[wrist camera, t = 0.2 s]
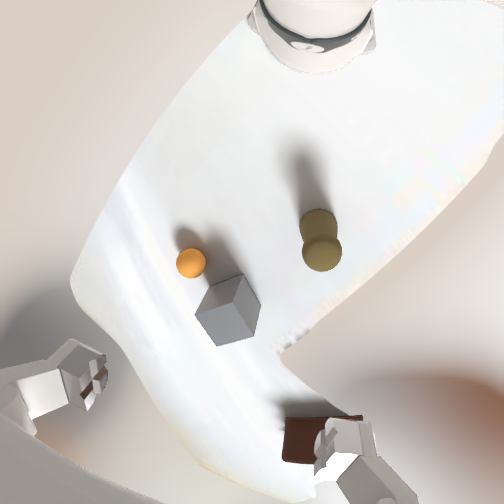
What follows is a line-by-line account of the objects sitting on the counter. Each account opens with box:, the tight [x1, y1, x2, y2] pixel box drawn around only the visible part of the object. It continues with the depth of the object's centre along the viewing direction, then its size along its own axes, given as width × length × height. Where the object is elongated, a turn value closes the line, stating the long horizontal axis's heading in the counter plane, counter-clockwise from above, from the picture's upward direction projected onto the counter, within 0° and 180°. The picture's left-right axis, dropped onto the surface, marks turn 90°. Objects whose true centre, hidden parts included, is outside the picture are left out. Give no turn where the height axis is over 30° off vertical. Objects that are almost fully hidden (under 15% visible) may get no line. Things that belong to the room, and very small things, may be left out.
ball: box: [176, 248, 206, 278], centre depth 50 cm, size 5×5×5 cm
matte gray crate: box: [195, 274, 261, 346], centre depth 50 cm, size 7×7×9 cm
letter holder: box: [282, 415, 363, 464], centre depth 62 cm, size 10×20×14 cm, turn 97°
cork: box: [300, 209, 342, 272], centre depth 42 cm, size 6×6×11 cm
